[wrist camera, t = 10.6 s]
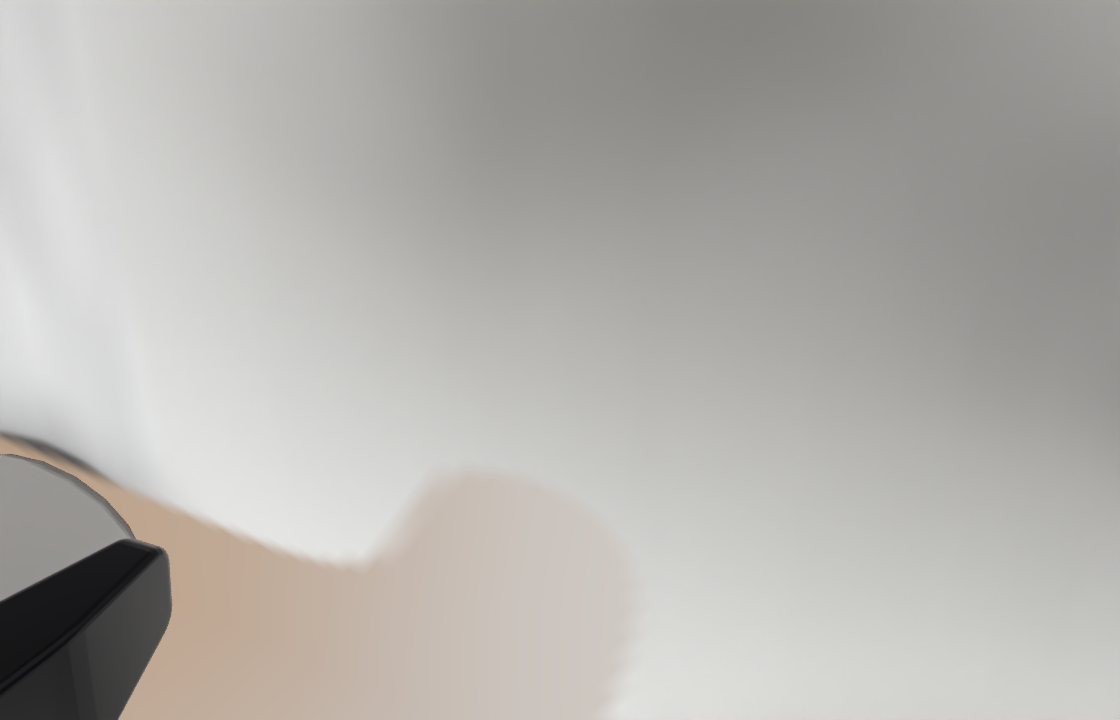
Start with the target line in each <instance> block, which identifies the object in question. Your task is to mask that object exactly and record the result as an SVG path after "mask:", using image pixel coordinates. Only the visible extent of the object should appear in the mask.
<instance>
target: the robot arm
mask: <svg viewBox="0 0 1120 720" xmlns="http://www.w3.org/2000/svg"><path fill="white" fill-rule="evenodd" d="M171 598H172V597H171V582H170V567H169V558H168V554H167V553H166V551H165V550H164V549H163V548H161V547H159V546H155V545H152V544H149V543H146V542H142V541H139V540H136V539H131V538H125V539H121V540H118V541H115V542H113V543H111V544H109V545H107V546H105V547H103V548H102V549H100V550H98V551H96V552H94V553H92V554H90V555H88V556H86V557H84V558H82V559H80V560H78V561H76V562H74V563H72V564H70V565H69V566H67V567H65V568H63V569H61V570H59V571H57V572H55V573H53V574H51V575H49V576H47V577H45V578H43V579H41V580H39V581H38V582H36V583H34V584H32V585H30V586H28V587H26V588H24V589H22V590H20V591H18V592H16V593H14V594H12V595H10V596H8V597H6V598H5V599H3V600H1V601H0V720H118V719H119V717H120V715H121V713H122V711H123V710H124V708H125V706H126V704H127V702H128V700H129V698H130V696H131V695H132V693H133V691H134V689H135V687H136V685H137V683H138V682H139V679H140V678H141V676H142V674H143V672H144V670H145V668H146V667H147V665H148V663H149V661H150V659H151V657H152V655H153V654H154V652H155V650H156V648H157V646H158V644H159V642H160V640H161V639H162V637H163V635H164V633H165V631H166V629H167V626H168V624H169V620H170V617H171V611H172V599H171Z"/></svg>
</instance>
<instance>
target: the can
mask: <svg viewBox="0 0 1120 720" xmlns="http://www.w3.org/2000/svg"><path fill="white" fill-rule="evenodd" d="M125 538H131V539H135V537H134V535H133V533H132V531H131V529H130V527H129V526H128V524H127V523H126V522H125V521H124V520H123V518H122V517H121V516H120V515H119V514H118V513H117V512H116V511H115V509H114V508H113V507H112V506H111V505H110V504H109V503H108V501H106V499H104V498H103V497H102V496H101V495H99V494H98V493H97V492H95V491H94V490H92V489H91V488H90V487H89V486H87V485H86V484H85V483H83V482H82V481H81V480H79V479H78V478H77V477H75V476H73V475H71V474H69V473H66V472H64V471H62V470H60V469H58V468H56V467H54V466H52V465H50V464H48V463H46V462H43V461H39V460H35V459H30V458H26V457H22V456H18V455H13V454H7V455H0V601H1V600H3V599H5V598H6V597H8V596H10V595H12V594H14V593H16V592H18V591H20V590H22V589H24V588H26V587H28V586H30V585H32V584H34V583H36V582H38V581H39V580H41V579H43V578H45V577H47V576H49V575H51V574H53V573H55V572H57V571H59V570H61V569H63V568H65V567H67V566H69V565H70V564H72V563H74V562H76V561H78V560H80V559H82V558H84V557H86V556H88V555H90V554H92V553H94V552H96V551H98V550H100V549H102V548H103V547H105V546H107V545H109V544H111V543H113V542H115V541H118V540H121V539H125Z"/></svg>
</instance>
